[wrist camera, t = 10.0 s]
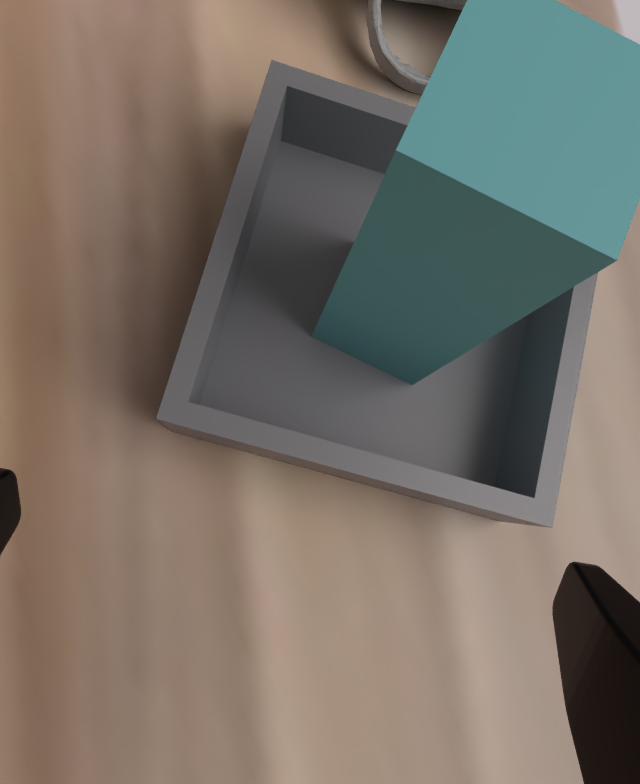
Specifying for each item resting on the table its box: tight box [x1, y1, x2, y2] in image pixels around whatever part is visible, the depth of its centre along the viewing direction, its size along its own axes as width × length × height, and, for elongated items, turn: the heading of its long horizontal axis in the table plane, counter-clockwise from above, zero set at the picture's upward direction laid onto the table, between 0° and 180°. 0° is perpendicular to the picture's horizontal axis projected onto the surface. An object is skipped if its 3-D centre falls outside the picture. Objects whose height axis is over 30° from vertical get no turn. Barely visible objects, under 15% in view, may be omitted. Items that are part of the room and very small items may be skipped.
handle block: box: [311, 0, 640, 385], centre depth 17 cm, size 4×4×13 cm
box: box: [156, 60, 598, 528], centre depth 22 cm, size 14×14×4 cm
